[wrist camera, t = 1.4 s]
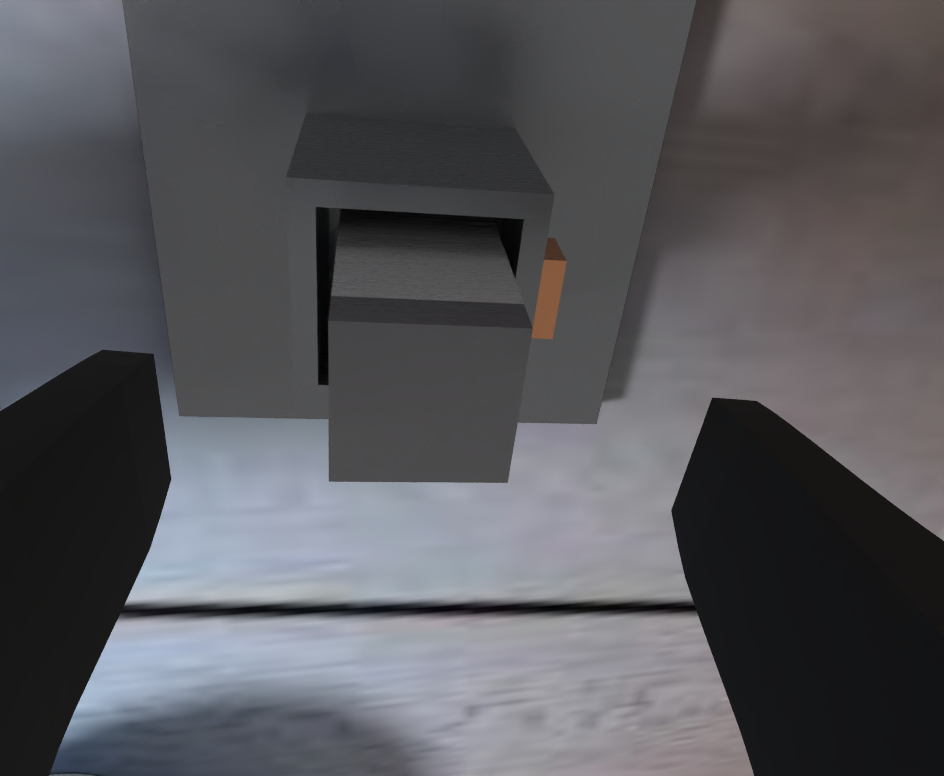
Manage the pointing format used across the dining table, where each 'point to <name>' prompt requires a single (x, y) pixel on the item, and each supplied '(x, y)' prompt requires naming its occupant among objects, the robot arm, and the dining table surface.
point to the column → (423, 349)
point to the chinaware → (71, 775)
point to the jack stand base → (394, 171)
